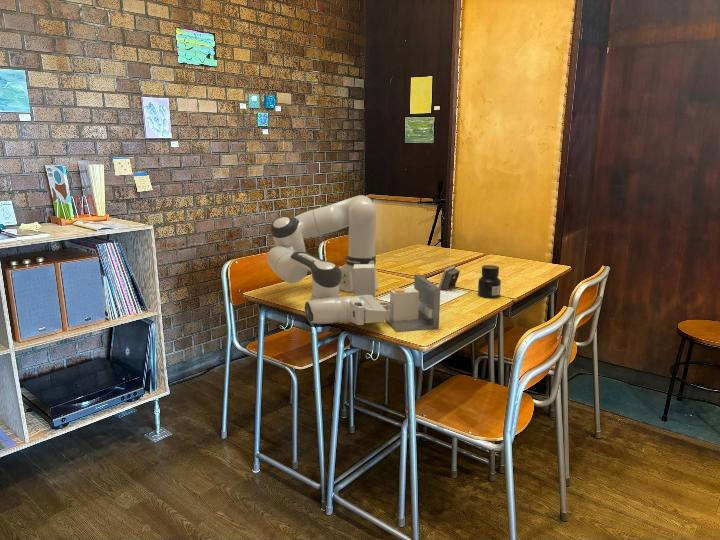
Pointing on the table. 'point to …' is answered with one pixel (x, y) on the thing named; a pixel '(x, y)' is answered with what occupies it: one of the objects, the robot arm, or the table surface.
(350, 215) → the robot arm
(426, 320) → the grey l-shaped stand
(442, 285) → the electrical switch
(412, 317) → the module
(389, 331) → the table surface
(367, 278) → the skincare box
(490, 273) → the ink bottle
